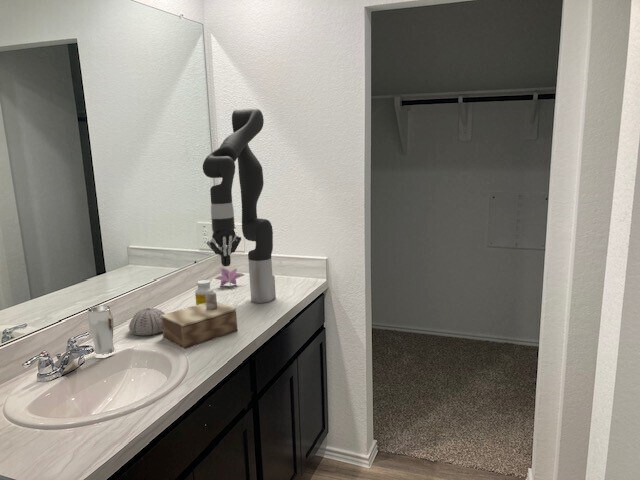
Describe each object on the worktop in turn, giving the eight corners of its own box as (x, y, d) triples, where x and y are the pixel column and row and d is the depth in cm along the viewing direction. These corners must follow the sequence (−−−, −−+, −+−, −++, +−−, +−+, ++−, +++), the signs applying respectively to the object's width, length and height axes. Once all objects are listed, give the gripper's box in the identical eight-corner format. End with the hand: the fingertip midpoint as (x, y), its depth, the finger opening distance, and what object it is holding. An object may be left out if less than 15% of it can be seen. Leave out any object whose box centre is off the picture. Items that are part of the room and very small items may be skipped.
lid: (213, 302, 182) (212, 287, 181) (236, 310, 172) (234, 294, 171) (161, 316, 168) (159, 300, 167) (182, 326, 158) (181, 309, 157)
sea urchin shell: (153, 340, 168) (150, 317, 167) (120, 336, 173) (117, 313, 172) (177, 326, 181) (175, 304, 179) (146, 322, 185) (144, 301, 184)
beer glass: (93, 361, 153) (87, 313, 150) (92, 353, 159) (86, 307, 156) (118, 356, 156) (112, 309, 153) (115, 348, 162) (110, 303, 159)
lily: (249, 287, 228) (244, 267, 231) (238, 284, 217) (233, 263, 219) (225, 295, 230) (221, 275, 233) (213, 292, 219) (209, 271, 222)
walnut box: (214, 321, 183) (213, 302, 182) (237, 330, 173) (236, 311, 172) (163, 337, 170) (161, 317, 168) (184, 348, 160) (182, 327, 158)
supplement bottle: (210, 318, 187) (208, 284, 185) (194, 317, 188) (191, 284, 186) (218, 312, 194) (215, 279, 191) (201, 311, 195) (199, 279, 192)
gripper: (232, 212, 179) (235, 260, 183) (199, 217, 170) (203, 268, 174) (245, 214, 174) (248, 263, 177) (211, 219, 165) (215, 271, 168)
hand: (226, 265), depth 176 cm, fingers closed
